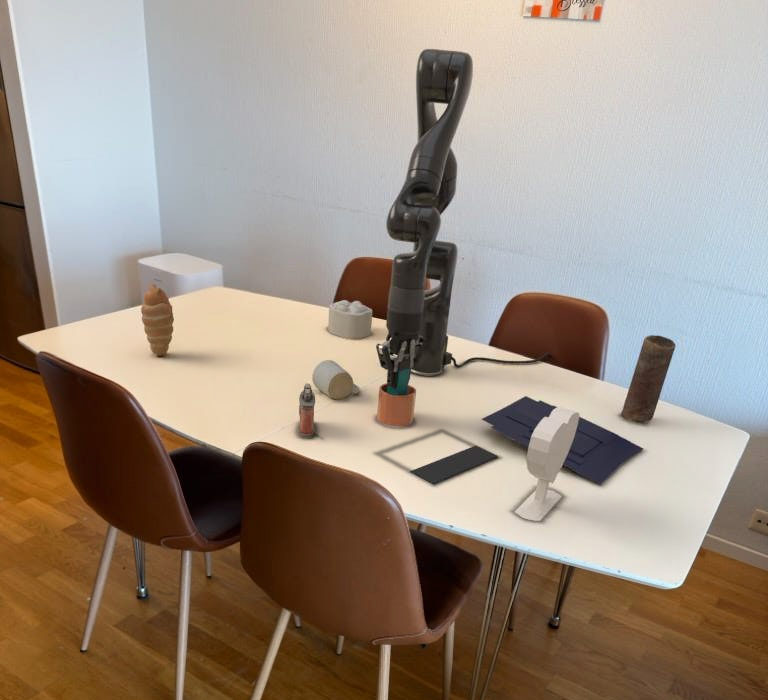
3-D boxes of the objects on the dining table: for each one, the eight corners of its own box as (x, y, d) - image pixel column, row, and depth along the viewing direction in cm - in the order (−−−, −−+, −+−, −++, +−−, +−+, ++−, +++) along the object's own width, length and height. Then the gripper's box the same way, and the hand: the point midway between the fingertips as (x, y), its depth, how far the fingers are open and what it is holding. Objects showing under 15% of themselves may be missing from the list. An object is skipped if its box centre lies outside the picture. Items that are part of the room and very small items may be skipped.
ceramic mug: (328, 403, 167) (330, 372, 163) (310, 391, 173) (312, 361, 169) (365, 397, 173) (368, 367, 169) (347, 385, 178) (349, 356, 174)
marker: (394, 414, 164) (400, 355, 157) (404, 419, 162) (410, 359, 155) (384, 417, 162) (390, 358, 155) (394, 422, 160) (400, 362, 153)
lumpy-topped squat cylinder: (354, 340, 209) (356, 311, 205) (320, 330, 215) (321, 301, 210) (374, 333, 217) (377, 304, 212) (340, 323, 222) (342, 295, 218)
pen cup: (394, 410, 167) (397, 380, 163) (420, 422, 162) (423, 391, 159) (369, 418, 162) (371, 387, 158) (394, 430, 157) (397, 399, 153)
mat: (441, 430, 160) (442, 429, 159) (497, 457, 150) (498, 455, 150) (377, 453, 147) (377, 451, 147) (433, 484, 138) (433, 482, 137)
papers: (526, 404, 174) (530, 390, 172) (639, 458, 161) (645, 444, 159) (473, 432, 157) (477, 417, 155) (595, 495, 144) (601, 481, 142)
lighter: (298, 422, 157) (299, 379, 152) (314, 422, 158) (315, 379, 152) (298, 438, 150) (299, 393, 145) (314, 438, 151) (315, 394, 146)
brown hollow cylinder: (652, 417, 177) (676, 338, 166) (652, 428, 171) (676, 347, 160) (621, 410, 179) (642, 332, 168) (619, 421, 173) (642, 340, 162)
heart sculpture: (541, 484, 141) (560, 399, 132) (565, 492, 139) (586, 407, 130) (510, 516, 130) (528, 425, 120) (535, 525, 128) (556, 434, 118)
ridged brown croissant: (181, 359, 185) (176, 288, 175) (151, 362, 181) (144, 290, 171) (169, 348, 191) (164, 279, 181) (139, 351, 187) (133, 281, 177)
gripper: (394, 316, 142) (387, 397, 151) (441, 307, 151) (432, 384, 160) (368, 306, 147) (363, 385, 156) (416, 298, 156) (408, 373, 164)
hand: (398, 384), depth 158 cm, fingers closed on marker, 3 cm apart
